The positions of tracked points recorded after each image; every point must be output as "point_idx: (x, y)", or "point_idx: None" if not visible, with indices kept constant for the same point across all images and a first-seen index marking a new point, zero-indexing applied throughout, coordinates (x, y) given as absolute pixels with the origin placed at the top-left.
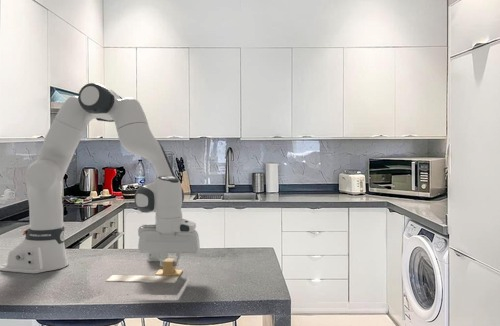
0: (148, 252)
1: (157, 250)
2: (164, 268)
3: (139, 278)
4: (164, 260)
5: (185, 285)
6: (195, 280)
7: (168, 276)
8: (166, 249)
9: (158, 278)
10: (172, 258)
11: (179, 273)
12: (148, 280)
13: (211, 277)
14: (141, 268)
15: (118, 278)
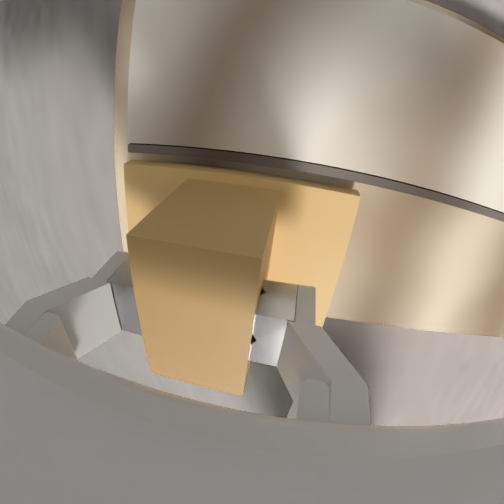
0: (496, 421)
1: (357, 469)
2: (254, 213)
3: (491, 113)
4: (250, 330)
5: (92, 41)
6: (58, 156)
7: (217, 134)
8: (129, 451)
9: (314, 71)
10: (175, 375)
11: (130, 198)
12: (408, 22)
13: (15, 212)
14: (412, 398)
15: None
